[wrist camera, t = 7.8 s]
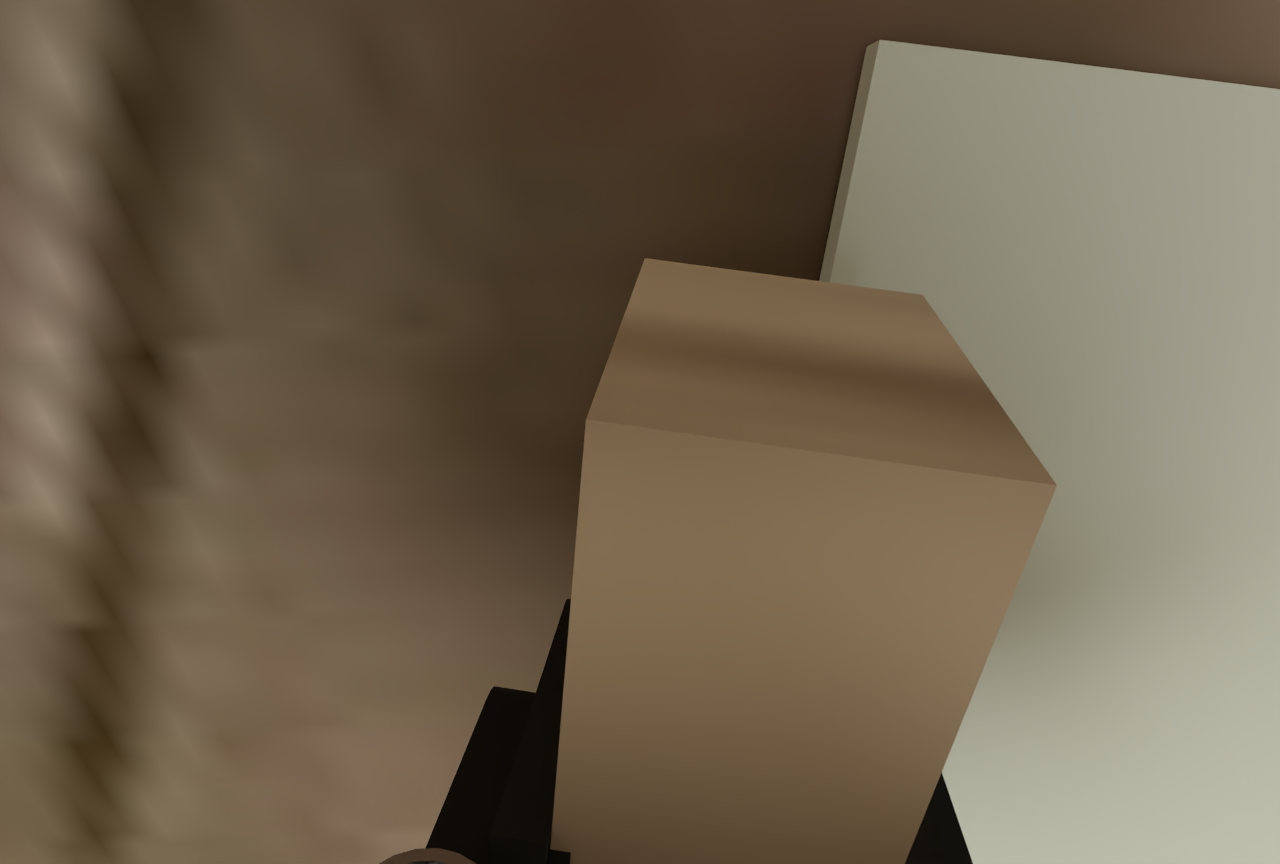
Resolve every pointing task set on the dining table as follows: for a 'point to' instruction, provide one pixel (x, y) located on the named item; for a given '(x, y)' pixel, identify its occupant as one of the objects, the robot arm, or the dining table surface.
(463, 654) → the dining table surface
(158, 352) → the dining table surface
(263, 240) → the dining table surface
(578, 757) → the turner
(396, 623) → the dining table surface
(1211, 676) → the board
